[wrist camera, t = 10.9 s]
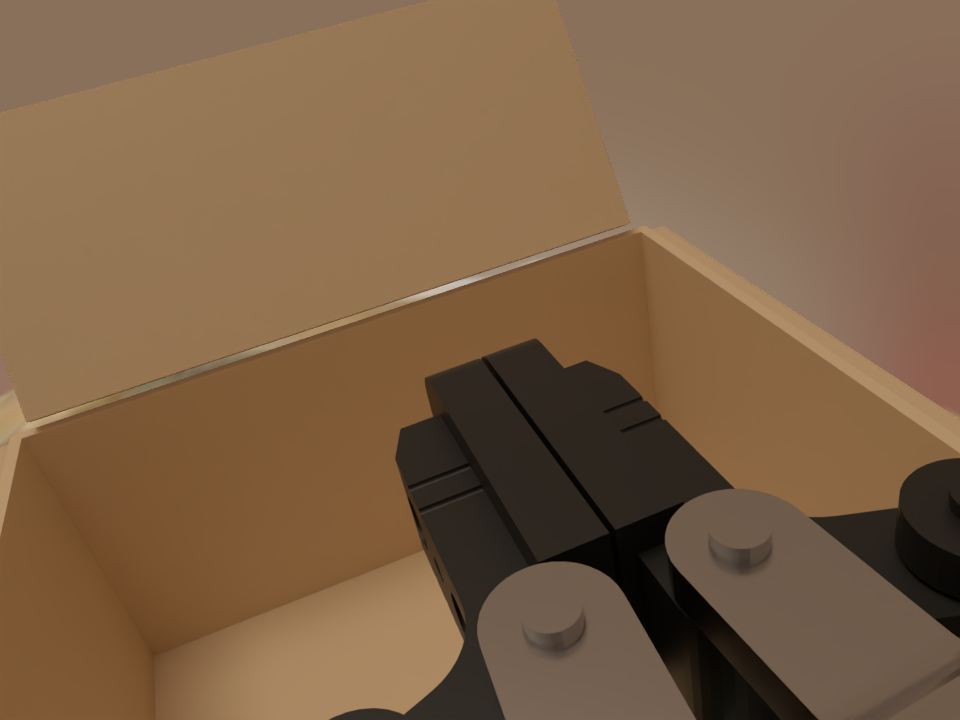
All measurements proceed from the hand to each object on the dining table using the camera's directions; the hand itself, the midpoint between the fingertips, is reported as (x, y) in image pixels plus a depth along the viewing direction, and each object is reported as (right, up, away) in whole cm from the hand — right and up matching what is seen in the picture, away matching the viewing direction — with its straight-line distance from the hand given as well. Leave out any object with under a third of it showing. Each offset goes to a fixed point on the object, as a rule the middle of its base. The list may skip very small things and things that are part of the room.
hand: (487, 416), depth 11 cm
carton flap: (-6, +7, +19) cm, 21 cm away
